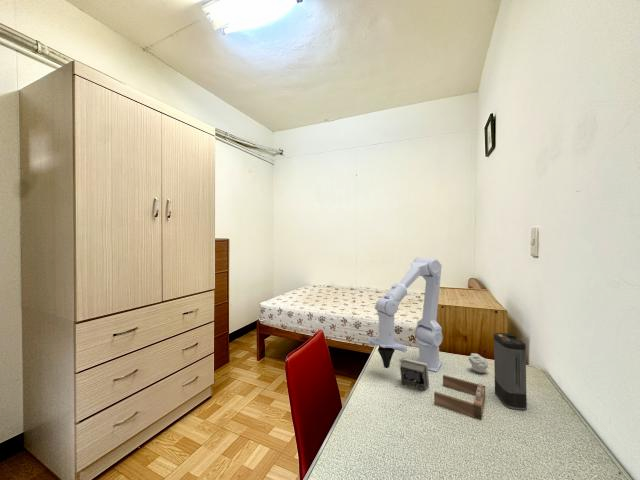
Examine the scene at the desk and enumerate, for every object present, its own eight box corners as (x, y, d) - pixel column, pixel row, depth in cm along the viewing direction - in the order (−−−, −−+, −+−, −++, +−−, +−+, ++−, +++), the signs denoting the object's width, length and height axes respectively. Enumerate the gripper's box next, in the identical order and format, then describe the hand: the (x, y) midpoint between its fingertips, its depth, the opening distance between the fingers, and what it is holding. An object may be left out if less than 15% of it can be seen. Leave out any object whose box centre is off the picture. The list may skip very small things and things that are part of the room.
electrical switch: (429, 386, 91) (428, 361, 90) (426, 395, 87) (425, 368, 86) (402, 379, 96) (401, 355, 96) (398, 387, 92) (397, 361, 91)
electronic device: (529, 411, 77) (528, 343, 78) (506, 408, 79) (505, 342, 79) (512, 393, 87) (511, 333, 87) (492, 391, 88) (492, 332, 88)
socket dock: (443, 384, 92) (443, 369, 92) (485, 396, 85) (485, 379, 85) (434, 404, 81) (434, 386, 81) (481, 420, 74) (481, 400, 74)
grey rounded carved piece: (465, 368, 105) (464, 350, 105) (482, 368, 104) (482, 350, 104) (473, 375, 99) (473, 357, 99) (492, 376, 98) (492, 357, 98)
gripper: (364, 329, 99) (364, 365, 99) (402, 337, 90) (402, 377, 90) (372, 324, 104) (372, 359, 104) (408, 332, 96) (408, 369, 96)
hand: (386, 366), depth 97 cm, fingers closed
